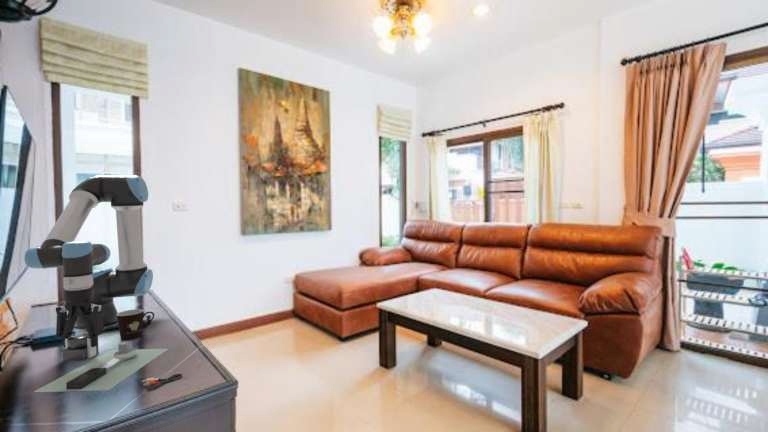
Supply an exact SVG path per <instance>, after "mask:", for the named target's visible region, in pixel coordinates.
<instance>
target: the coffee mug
mask: <svg viewBox="0 0 768 432" xmlns="http://www.w3.org/2000/svg"><path fill="white" fill-rule="evenodd" d="M147 314H151V315H152V317H151V319H149V321H147V322H146V323H145V324H144V325H143V322H144V318H145V316H146V315H147ZM116 316H117V321H116V322H117V325H118V331H119V336H120V340H121V341H123V342H126V341H132V340H133V341H134V340H135V339H138V338H141V337H142V334H143V329H144V328H145V327H146V326H148V325H149V324H150V323H151V322H152V321H153V320H154V318H155V313H154V312H153V311H146V312H145V310H144V309H140V308H135V309H129V310H123V311H120V312H118V313H117V314H116Z"/></svg>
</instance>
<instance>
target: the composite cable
mask: <svg viewBox="0 0 768 432" xmlns="http://www.w3.org/2000/svg"><path fill="white" fill-rule="evenodd" d="M181 378H183V374H182V373H176V374H173V375H171V376H169V377H168V378H159V377H149V378H146V379H144V380H142V381H141V383H143V386H145V387H148V390H149V391H152V390H154V389H156V388H159V387H161V386H163V385H165V384H167V383H170V381H171V382H174V381H177V380H179V379H181Z"/></svg>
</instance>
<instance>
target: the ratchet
mask: <svg viewBox="0 0 768 432" xmlns="http://www.w3.org/2000/svg"><path fill="white" fill-rule="evenodd" d="M137 349H138V348H134V347H133V341H132V340H126V341H123V342H120V343H118V350H119V351H118V352H116V353H115V354H114V359H112V360H110V361H109V362H107V363H105V364H103V365H102V366H100V367H98V368H92V369H90V370H88V371H86V372H85V373H83V374H81V375H79V376H78V377H76V378H74V379H72V380H71V381H69V382H67V383H66V388H67V389H82V388H84V387H86V386H87V385H89V384H90V383H92V382H94V381H95V380H97V379H98V378H100V377H102V376H103V375H105V374H107V372H108V371H110V370H112V369H113V368H115V367H117V366H118V365H120V364H121V363H123V362H124V361H128V360H131V359H134V358H135V357H136V356H137Z"/></svg>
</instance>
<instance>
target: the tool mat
mask: <svg viewBox="0 0 768 432" xmlns="http://www.w3.org/2000/svg"><path fill="white" fill-rule="evenodd" d="M136 349H137V356H136V357H135V358H134V359H131V360H128V361H124V362H123V363H121V364H120V365H118V366H117V367H115V368H113V369H112V370H110V371H108V372H107V374H105V375H103V376H102V377H100V378H98V379H97V380H95V381H94V382H92V383H90V384H89V385H87V386H86V387H84V388H82V389H67V388H66V383H67V382H69V381H71V380H72V379H74V378H76V377H78V376H79V375H81V374H83V373H85V372H86V371H88V370H90V369H92V368H98V367H100V366H102V365H103V364H105V363H107V362H109V361H110V360H112V359H114V354H115V353H116V352H118V351H119V349H110V350H108V351H106V352H105V353H103V354H101V355H99V356H97V357H95V358H93V359H92V360H89V361H88V362H86V363H84V364H82V365H81V366H78V367H77V368H75V369H74V370H71V371H69V372H68V373H66V374H64V375H62V376H60V377H59V378H56V379H55V380H53V381H51V382H49V383H47V384H46V385H44V386H42V387H39V388H38V389H36V390H35V391H33V393H54V392H55V393H56V392H57V393H58V392H90V391H91V392H93V391H110V390H111V389H113V388H114V387H115V386H118V385H119V384H120V383H121V382H123V381H124V380H126V379H127V378H128V377H130V376H131V375H133V374H134V373H136V372H138V371H139V370H140V369H142V368H143V367H144V366H146V365H147V364H149V363H151V362H152V361H154V360H155V359H156V358H158V357H159V356H161V355H162V354H164V353H165V352H166V351H168V350H169V348H148V349H147V348H144V349H142V348H141V349H140V348H139V349H138V348H136Z"/></svg>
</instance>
